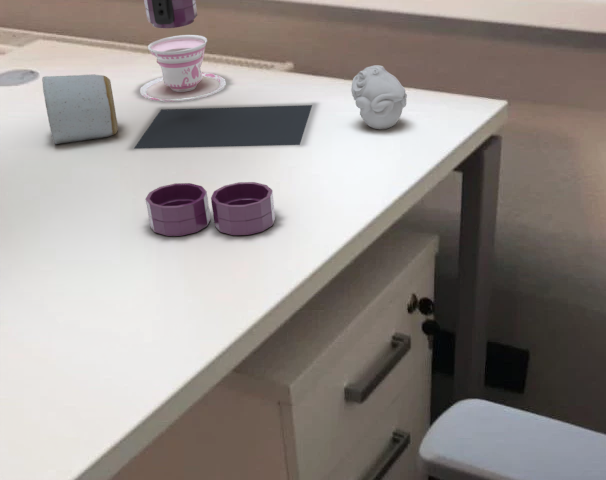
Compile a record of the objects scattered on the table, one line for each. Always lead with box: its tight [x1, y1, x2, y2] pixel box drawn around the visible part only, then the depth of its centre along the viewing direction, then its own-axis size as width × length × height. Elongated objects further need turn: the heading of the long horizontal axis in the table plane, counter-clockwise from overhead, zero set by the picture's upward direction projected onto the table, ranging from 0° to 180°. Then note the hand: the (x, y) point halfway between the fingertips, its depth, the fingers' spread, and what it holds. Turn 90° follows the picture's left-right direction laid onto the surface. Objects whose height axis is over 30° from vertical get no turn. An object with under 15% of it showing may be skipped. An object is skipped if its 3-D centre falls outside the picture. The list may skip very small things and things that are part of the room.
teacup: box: [139, 34, 227, 103], centre depth 121 cm, size 12×12×6 cm
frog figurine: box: [350, 64, 408, 130], centre depth 104 cm, size 6×7×7 cm
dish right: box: [210, 181, 276, 236], centre depth 86 cm, size 6×6×3 cm
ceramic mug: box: [42, 73, 119, 145], centre depth 109 cm, size 11×8×8 cm
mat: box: [133, 104, 313, 150], centre depth 109 cm, size 20×14×1 cm
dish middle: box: [144, 182, 211, 237], centre depth 87 cm, size 6×6×3 cm
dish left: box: [143, 0, 198, 29], centre depth 105 cm, size 6×6×3 cm
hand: (171, 15), depth 105 cm, fingers closed on dish left, 6 cm apart
